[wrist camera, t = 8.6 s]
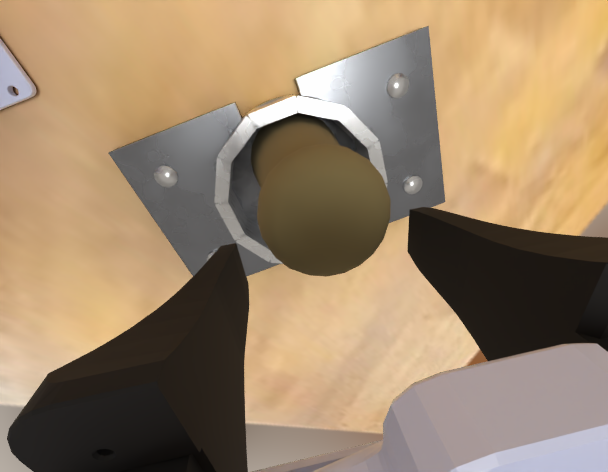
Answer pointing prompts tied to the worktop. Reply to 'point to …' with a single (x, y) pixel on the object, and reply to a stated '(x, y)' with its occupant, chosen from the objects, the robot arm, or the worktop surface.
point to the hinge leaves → (312, 100)
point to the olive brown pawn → (317, 197)
